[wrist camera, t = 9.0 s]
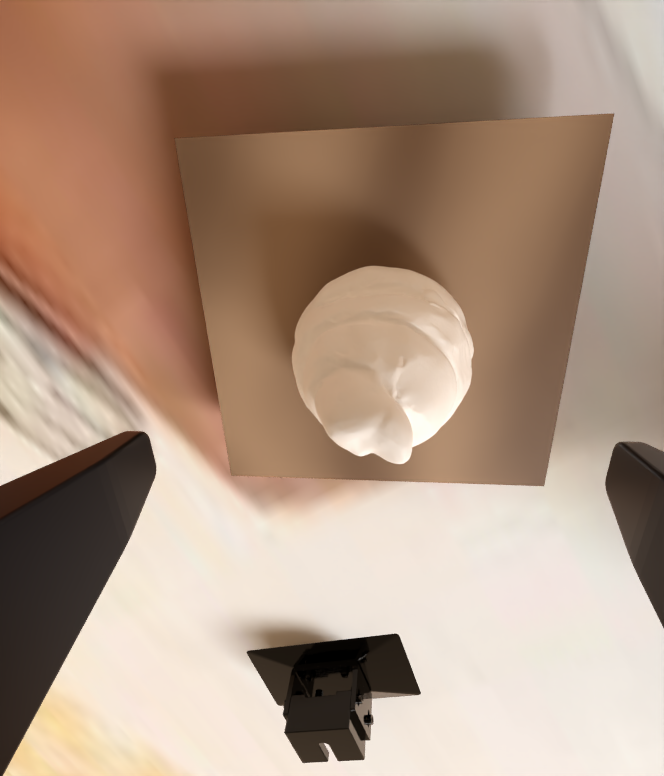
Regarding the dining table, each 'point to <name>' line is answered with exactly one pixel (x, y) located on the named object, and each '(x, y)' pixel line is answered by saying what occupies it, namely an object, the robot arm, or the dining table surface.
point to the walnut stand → (397, 250)
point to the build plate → (334, 690)
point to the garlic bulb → (382, 360)
